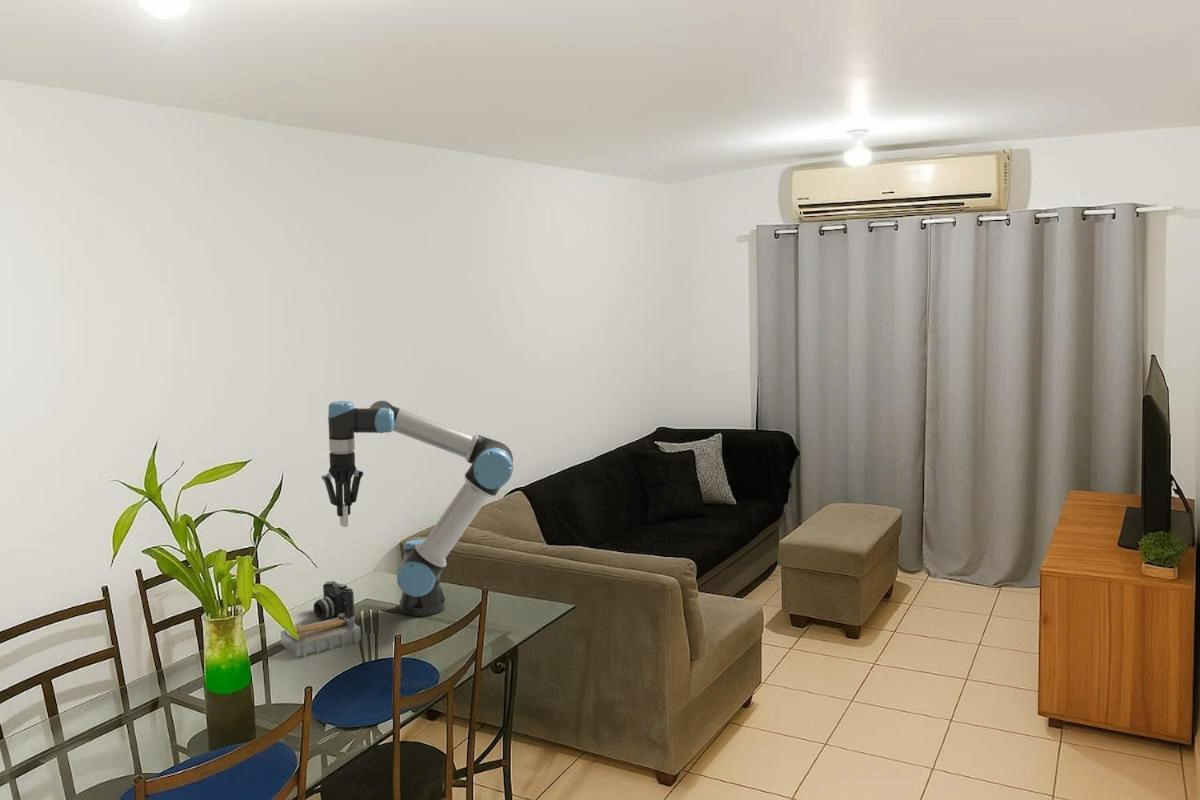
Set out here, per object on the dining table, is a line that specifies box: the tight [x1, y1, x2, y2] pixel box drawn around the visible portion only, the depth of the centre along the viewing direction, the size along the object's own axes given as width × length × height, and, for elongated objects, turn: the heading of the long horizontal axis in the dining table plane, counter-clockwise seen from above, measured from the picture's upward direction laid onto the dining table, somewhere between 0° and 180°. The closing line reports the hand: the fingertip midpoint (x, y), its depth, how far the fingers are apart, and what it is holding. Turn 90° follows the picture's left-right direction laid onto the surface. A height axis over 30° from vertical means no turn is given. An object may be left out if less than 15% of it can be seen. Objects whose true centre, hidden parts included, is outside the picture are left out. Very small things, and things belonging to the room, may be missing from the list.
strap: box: [295, 617, 348, 635], centre depth 281 cm, size 17×5×1 cm, turn 130°
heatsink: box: [280, 613, 362, 658], centre depth 281 cm, size 20×14×6 cm
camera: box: [313, 580, 355, 620], centre depth 302 cm, size 14×11×10 cm
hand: (344, 525), depth 290 cm, fingers closed
